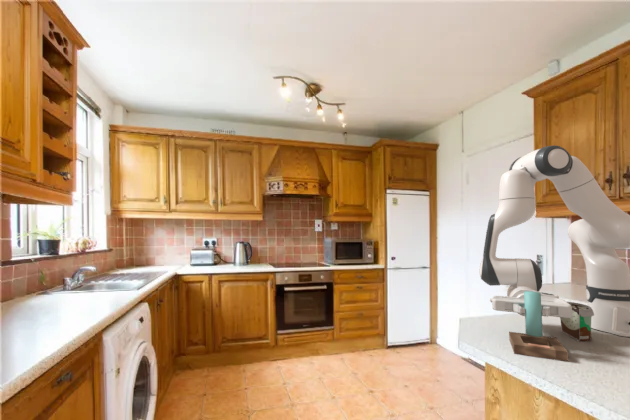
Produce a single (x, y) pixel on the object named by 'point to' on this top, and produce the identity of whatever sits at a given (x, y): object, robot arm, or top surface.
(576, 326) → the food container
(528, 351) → the hole plate
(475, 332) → the top surface
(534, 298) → the teal peg
